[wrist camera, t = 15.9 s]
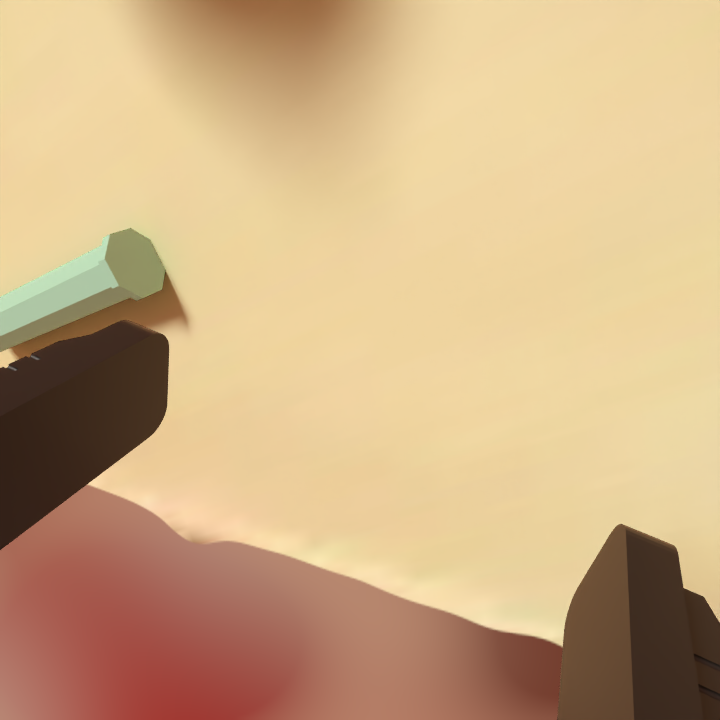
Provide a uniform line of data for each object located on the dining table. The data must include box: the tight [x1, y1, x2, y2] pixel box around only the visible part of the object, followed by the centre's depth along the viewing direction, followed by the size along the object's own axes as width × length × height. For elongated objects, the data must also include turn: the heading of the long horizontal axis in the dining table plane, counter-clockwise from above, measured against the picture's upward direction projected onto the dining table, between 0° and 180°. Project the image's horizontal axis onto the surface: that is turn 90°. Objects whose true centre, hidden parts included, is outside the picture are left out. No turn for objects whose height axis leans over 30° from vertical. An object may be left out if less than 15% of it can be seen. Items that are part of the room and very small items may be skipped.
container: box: [0, 228, 165, 352], centre depth 52 cm, size 6×6×25 cm
